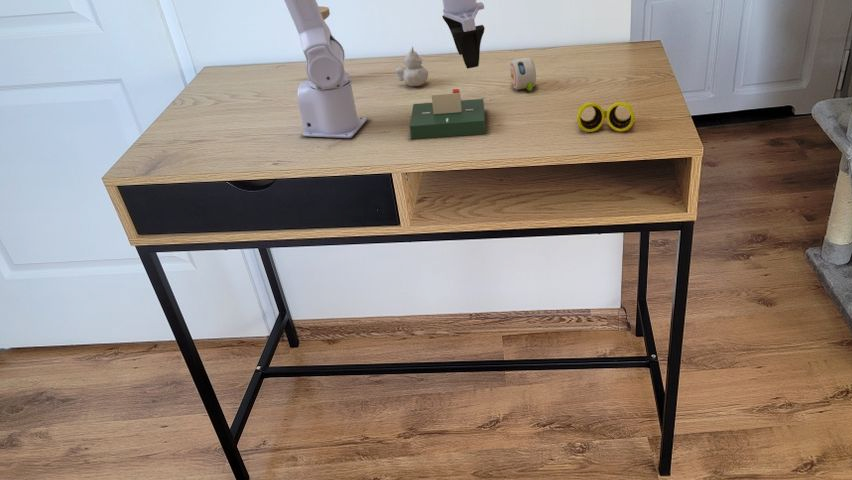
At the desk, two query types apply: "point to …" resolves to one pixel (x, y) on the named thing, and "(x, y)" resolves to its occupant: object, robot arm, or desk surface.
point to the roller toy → (523, 73)
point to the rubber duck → (412, 70)
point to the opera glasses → (602, 114)
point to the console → (448, 120)
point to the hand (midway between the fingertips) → (468, 60)
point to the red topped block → (446, 101)
